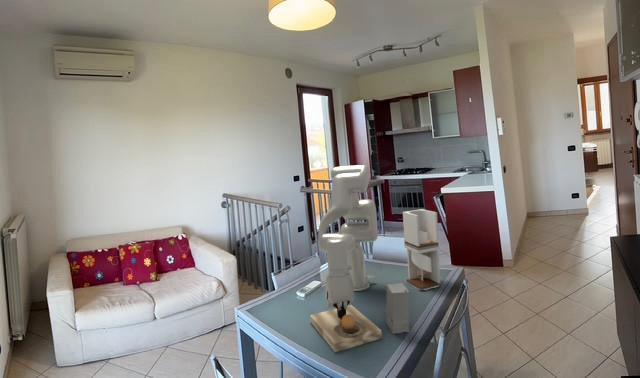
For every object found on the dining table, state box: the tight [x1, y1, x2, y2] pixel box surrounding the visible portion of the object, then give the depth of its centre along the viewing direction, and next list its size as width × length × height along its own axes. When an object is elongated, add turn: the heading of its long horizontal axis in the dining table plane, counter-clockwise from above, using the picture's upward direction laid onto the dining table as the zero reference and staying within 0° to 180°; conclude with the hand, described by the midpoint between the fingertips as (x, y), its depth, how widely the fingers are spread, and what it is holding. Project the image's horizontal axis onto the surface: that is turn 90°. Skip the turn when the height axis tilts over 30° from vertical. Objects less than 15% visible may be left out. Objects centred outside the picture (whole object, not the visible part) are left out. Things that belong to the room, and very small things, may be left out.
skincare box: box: [385, 282, 410, 335], centre depth 133 cm, size 8×7×16 cm
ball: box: [341, 314, 355, 329], centre depth 132 cm, size 5×5×5 cm
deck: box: [309, 304, 383, 353], centre depth 136 cm, size 18×24×3 cm
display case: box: [402, 208, 441, 290], centre depth 169 cm, size 11×11×35 cm
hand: (342, 318), depth 136 cm, fingers closed
